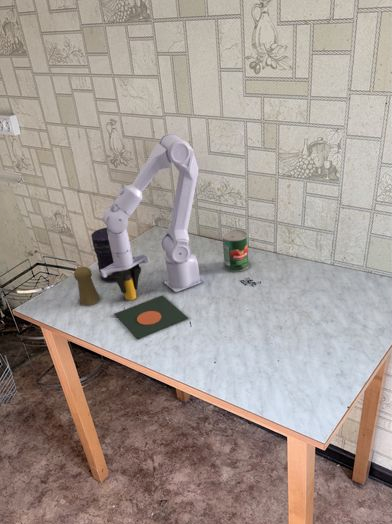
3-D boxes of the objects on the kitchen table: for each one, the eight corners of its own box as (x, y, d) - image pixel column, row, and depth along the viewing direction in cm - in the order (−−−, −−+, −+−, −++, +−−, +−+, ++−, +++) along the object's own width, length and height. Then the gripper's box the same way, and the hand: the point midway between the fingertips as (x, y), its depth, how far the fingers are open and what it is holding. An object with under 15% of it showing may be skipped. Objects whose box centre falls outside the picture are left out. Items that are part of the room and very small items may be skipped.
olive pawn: (95, 305, 156) (87, 273, 149) (77, 305, 157) (68, 273, 150) (102, 295, 160) (94, 264, 154) (84, 295, 162) (76, 264, 155)
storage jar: (136, 271, 171) (128, 229, 162) (117, 284, 165) (108, 242, 156) (113, 265, 176) (104, 225, 167) (94, 279, 170) (84, 237, 161)
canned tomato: (232, 258, 171) (230, 228, 165) (253, 263, 167) (251, 232, 161) (219, 269, 166) (217, 237, 160) (240, 274, 162) (238, 242, 156)
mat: (162, 296, 156) (162, 294, 156) (188, 318, 144) (188, 317, 144) (114, 314, 150) (114, 312, 150) (137, 339, 139) (137, 337, 138)
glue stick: (133, 293, 159) (128, 269, 154) (138, 297, 157) (133, 273, 152) (123, 297, 158) (118, 272, 153) (128, 301, 156) (122, 277, 151)
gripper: (137, 237, 153) (145, 277, 161) (92, 252, 148) (102, 292, 156) (147, 245, 148) (154, 286, 156) (101, 261, 143) (111, 302, 151)
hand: (129, 290), depth 156 cm, fingers closed on glue stick, 3 cm apart
